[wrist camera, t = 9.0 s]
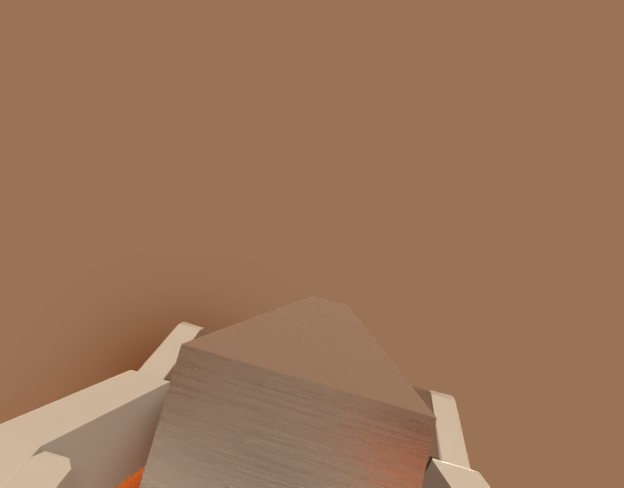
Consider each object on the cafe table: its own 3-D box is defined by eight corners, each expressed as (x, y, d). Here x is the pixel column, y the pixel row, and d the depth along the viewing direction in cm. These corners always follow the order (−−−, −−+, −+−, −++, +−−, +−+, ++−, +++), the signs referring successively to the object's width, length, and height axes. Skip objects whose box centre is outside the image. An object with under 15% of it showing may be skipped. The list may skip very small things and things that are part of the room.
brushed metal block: (371, 717, 4) (436, 418, 4) (100, 617, 4) (180, 344, 4) (339, 341, 30) (348, 305, 30) (303, 331, 30) (312, 295, 30)
